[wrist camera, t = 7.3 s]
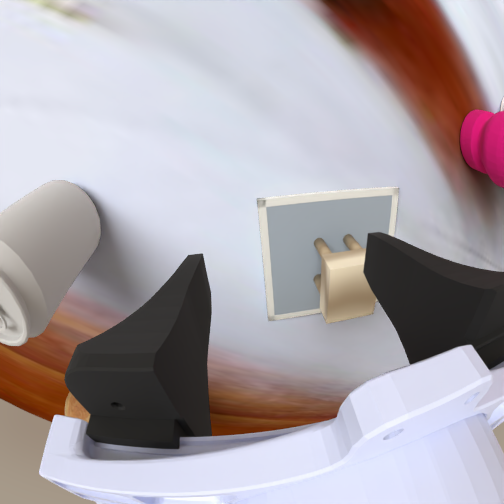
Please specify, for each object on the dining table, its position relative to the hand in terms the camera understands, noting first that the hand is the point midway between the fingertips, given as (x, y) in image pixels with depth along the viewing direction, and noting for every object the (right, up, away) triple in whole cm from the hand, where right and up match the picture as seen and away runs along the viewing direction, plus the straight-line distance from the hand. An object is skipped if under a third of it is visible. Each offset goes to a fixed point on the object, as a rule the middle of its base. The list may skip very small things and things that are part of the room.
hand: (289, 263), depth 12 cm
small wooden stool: (+5, 0, +12) cm, 13 cm away
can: (-17, +3, +9) cm, 20 cm away
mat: (+5, 0, +13) cm, 14 cm away
